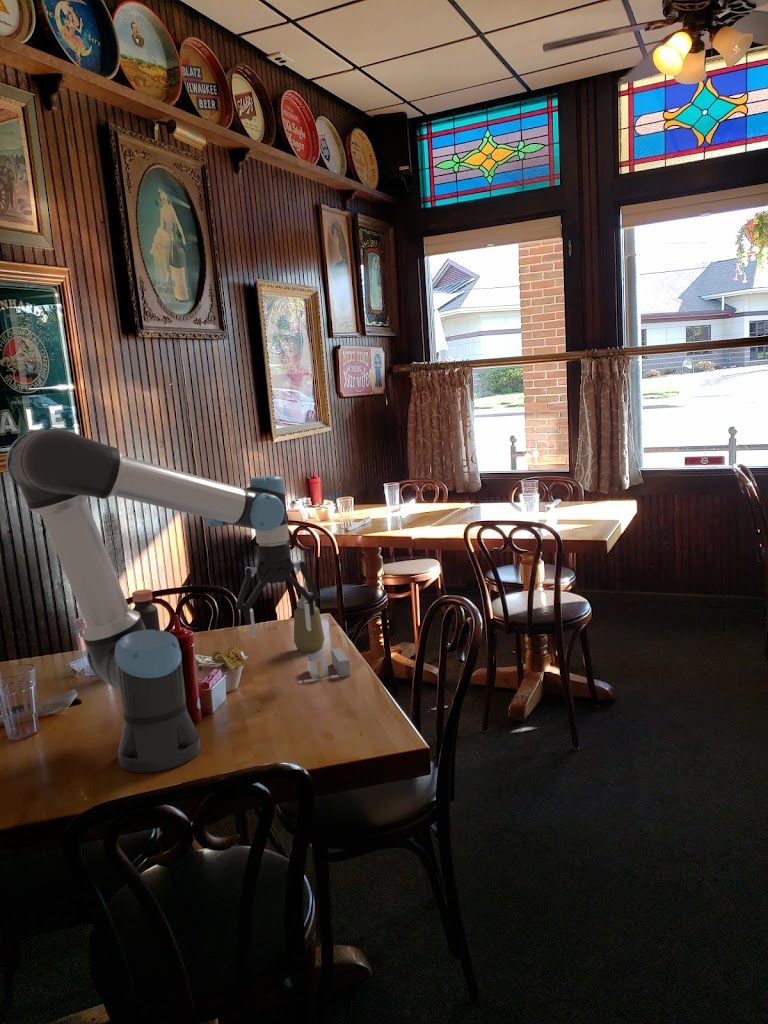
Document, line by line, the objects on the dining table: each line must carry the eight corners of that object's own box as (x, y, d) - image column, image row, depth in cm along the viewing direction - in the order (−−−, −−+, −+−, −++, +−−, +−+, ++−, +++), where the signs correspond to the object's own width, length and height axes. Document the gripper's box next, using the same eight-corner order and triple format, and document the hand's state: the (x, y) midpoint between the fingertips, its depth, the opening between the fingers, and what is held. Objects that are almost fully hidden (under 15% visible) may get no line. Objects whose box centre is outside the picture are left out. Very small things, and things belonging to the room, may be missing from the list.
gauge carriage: (329, 677, 178) (328, 661, 177) (312, 680, 177) (311, 664, 176) (324, 668, 185) (322, 652, 184) (307, 670, 184) (306, 654, 183)
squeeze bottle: (319, 658, 196) (313, 590, 193) (290, 657, 198) (283, 590, 196) (330, 648, 204) (324, 583, 201) (302, 647, 206) (296, 583, 203)
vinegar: (132, 667, 200) (123, 593, 197) (155, 659, 205) (146, 587, 202) (146, 671, 196) (137, 596, 193) (169, 663, 201) (160, 590, 198)
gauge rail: (350, 681, 178) (349, 660, 178) (287, 691, 175) (285, 670, 174) (342, 667, 188) (340, 647, 187) (281, 677, 184) (279, 656, 183)
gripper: (322, 534, 181) (329, 621, 184) (218, 546, 175) (227, 636, 178) (328, 539, 174) (335, 630, 177) (219, 552, 168) (229, 645, 171)
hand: (281, 633), depth 178 cm, fingers open, 12 cm apart
